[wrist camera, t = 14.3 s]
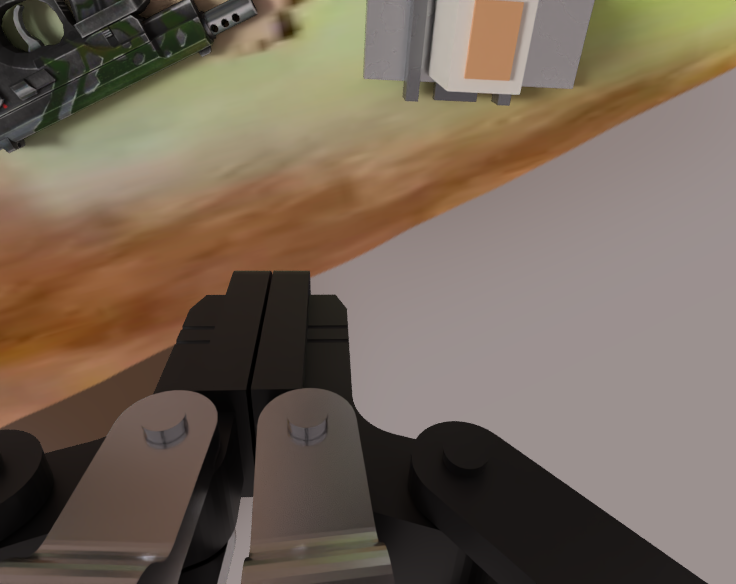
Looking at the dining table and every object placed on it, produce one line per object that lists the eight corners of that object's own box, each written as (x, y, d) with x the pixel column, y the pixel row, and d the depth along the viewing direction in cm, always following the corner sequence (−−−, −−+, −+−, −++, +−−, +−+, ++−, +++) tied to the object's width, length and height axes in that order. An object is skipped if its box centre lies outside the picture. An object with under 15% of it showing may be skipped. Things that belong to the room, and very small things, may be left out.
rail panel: (371, -117, 28) (375, -126, 26) (610, -97, 29) (632, -104, 27) (362, 92, 34) (364, 98, 31) (562, 101, 35) (577, 108, 33)
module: (437, -18, 29) (462, -19, 24) (504, -13, 30) (543, -14, 24) (427, 75, 32) (448, 92, 26) (488, 78, 32) (521, 95, 27)
